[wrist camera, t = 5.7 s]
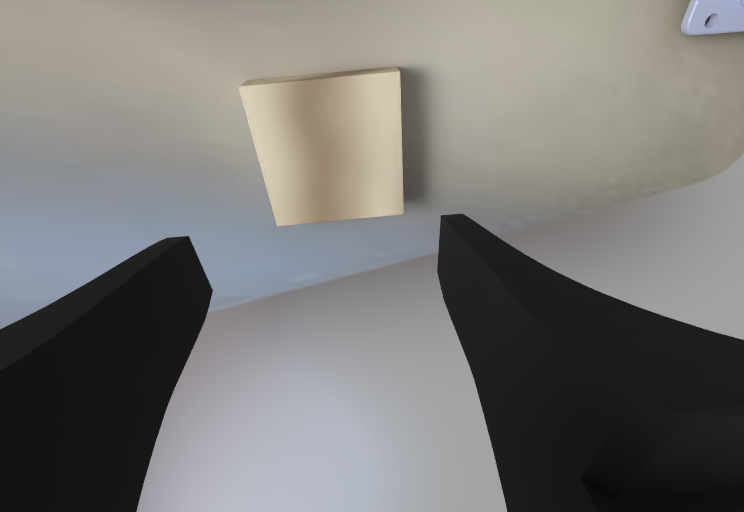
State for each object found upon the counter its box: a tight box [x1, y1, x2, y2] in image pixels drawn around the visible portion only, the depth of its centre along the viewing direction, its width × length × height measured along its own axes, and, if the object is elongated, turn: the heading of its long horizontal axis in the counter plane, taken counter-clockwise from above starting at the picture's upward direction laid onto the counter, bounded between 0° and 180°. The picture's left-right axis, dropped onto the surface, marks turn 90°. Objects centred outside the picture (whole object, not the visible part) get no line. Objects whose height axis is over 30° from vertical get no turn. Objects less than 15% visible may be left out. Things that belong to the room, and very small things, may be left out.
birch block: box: [239, 67, 404, 226], centre depth 18 cm, size 7×7×2 cm
